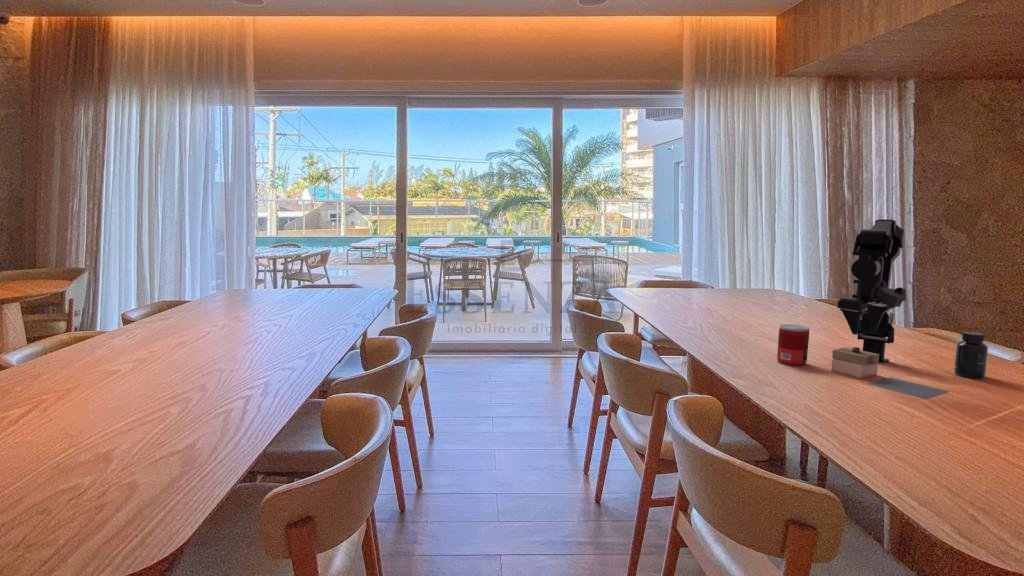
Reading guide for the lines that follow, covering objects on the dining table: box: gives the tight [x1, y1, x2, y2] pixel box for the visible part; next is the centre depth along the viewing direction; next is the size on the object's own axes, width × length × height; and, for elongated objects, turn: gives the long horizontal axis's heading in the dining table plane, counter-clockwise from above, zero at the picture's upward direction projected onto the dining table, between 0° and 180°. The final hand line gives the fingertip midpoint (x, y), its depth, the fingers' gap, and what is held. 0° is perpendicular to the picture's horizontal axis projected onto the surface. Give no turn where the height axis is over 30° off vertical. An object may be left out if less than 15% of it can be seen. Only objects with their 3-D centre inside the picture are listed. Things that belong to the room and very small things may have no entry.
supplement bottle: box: [953, 331, 989, 379], centre depth 159 cm, size 7×7×12 cm
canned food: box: [776, 323, 810, 367], centre depth 170 cm, size 8×8×11 cm
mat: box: [865, 376, 951, 400], centre depth 147 cm, size 12×14×1 cm
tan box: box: [830, 358, 879, 380], centre depth 159 cm, size 8×8×4 cm
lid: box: [831, 346, 880, 366], centre depth 159 cm, size 6×9×4 cm
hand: (864, 332), depth 159 cm, fingers open, 9 cm apart
